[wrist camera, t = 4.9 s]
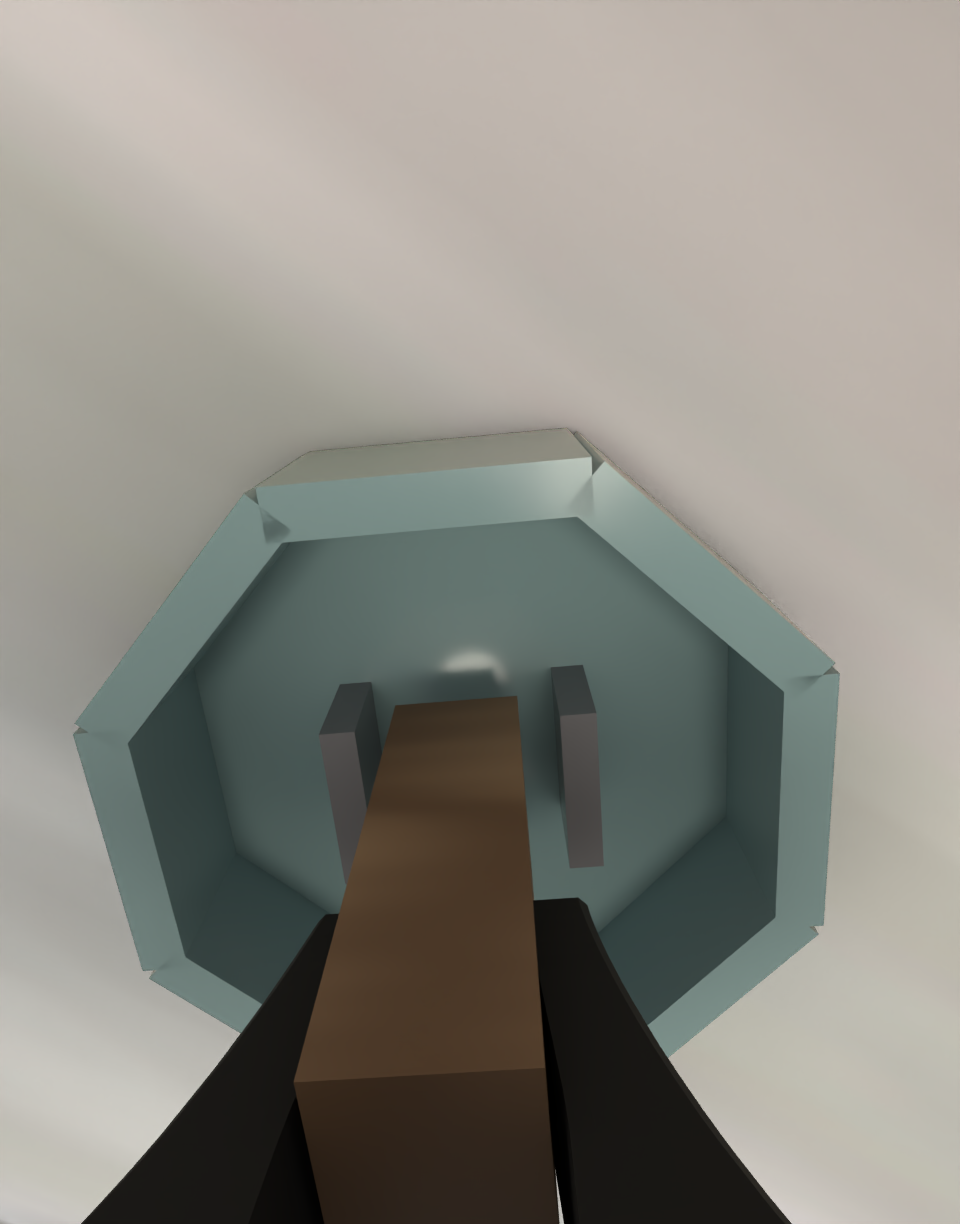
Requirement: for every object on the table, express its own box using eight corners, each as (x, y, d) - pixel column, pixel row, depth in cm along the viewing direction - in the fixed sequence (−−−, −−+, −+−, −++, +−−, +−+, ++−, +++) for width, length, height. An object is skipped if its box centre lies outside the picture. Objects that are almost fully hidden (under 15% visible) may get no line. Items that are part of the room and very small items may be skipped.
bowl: (241, 975, 18) (186, 1119, 15) (118, 469, 14) (7, 510, 11) (752, 941, 18) (813, 1081, 14) (767, 409, 14) (855, 432, 10)
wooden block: (423, 907, 14) (362, 1400, 8) (395, 705, 13) (293, 1082, 6) (534, 900, 14) (572, 1392, 7) (516, 695, 13) (544, 1066, 6)
